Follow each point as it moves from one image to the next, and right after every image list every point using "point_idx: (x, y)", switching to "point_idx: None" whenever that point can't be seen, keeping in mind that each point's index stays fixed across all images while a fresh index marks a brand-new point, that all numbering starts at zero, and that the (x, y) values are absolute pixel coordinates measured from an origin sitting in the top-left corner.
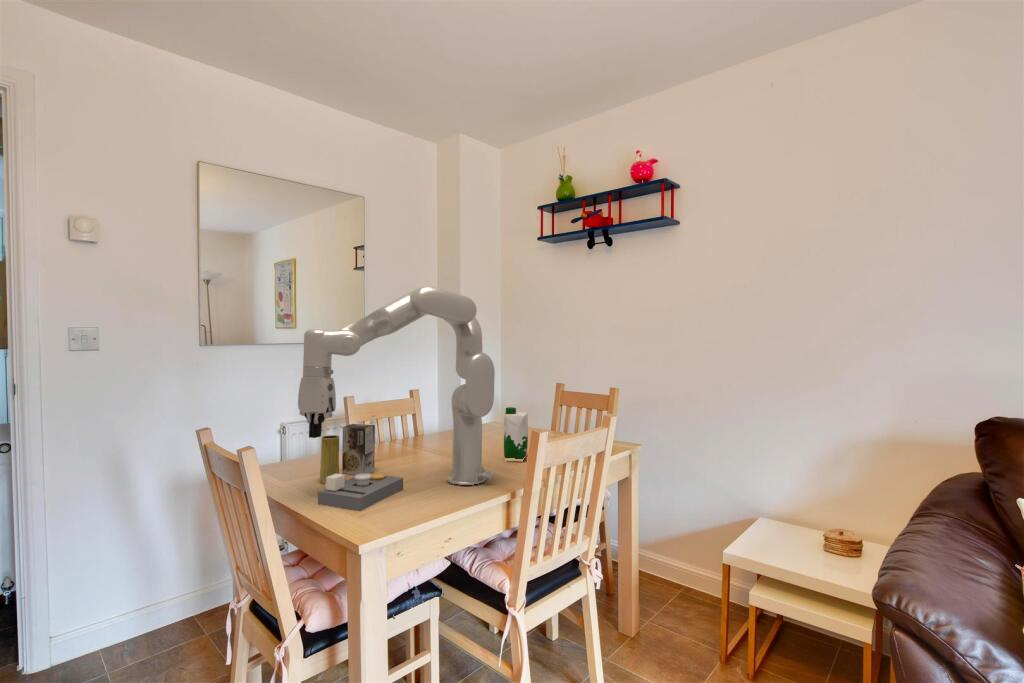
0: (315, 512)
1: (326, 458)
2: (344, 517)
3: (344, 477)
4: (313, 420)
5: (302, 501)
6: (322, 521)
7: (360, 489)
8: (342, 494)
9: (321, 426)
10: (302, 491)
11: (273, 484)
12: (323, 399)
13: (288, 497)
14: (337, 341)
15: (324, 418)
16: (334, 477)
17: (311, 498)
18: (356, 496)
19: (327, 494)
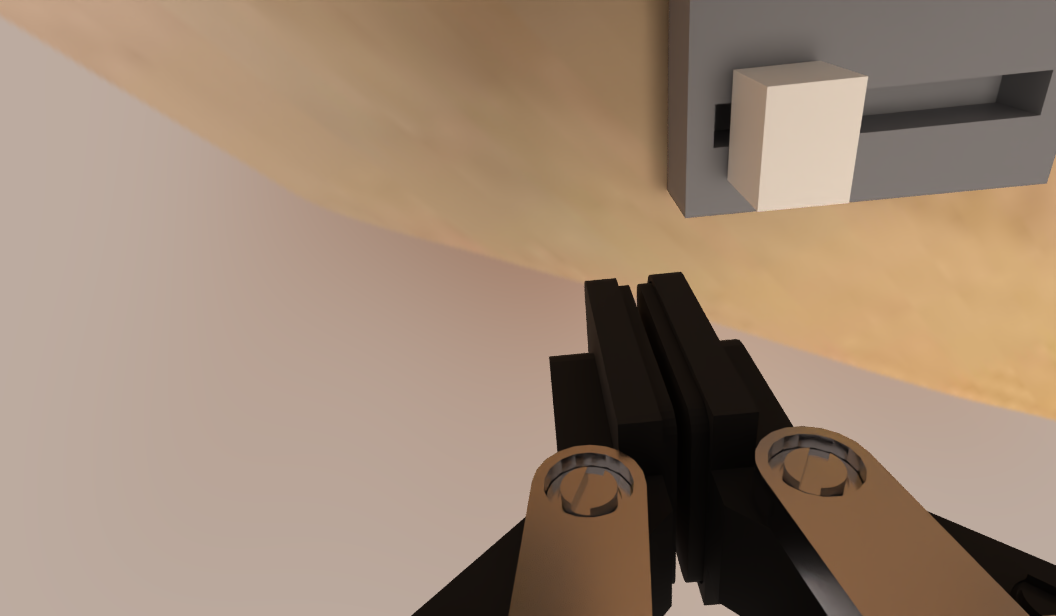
0: (747, 287)
1: None
2: (942, 269)
3: (855, 74)
4: (659, 594)
5: (543, 197)
6: (860, 352)
7: (963, 23)
8: (886, 185)
9: (780, 410)
10: (365, 44)
11: (25, 27)
12: None
13: (403, 185)
14: None
15: (997, 577)
16: (828, 187)
17: (547, 128)
18: (1005, 170)
19: None
